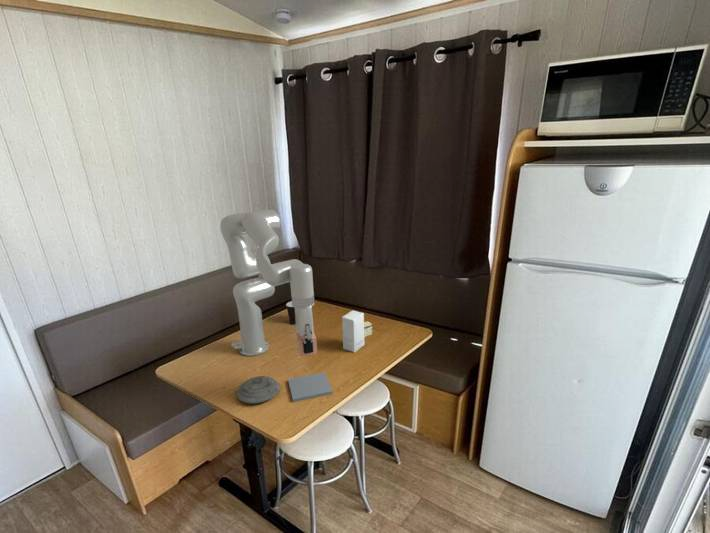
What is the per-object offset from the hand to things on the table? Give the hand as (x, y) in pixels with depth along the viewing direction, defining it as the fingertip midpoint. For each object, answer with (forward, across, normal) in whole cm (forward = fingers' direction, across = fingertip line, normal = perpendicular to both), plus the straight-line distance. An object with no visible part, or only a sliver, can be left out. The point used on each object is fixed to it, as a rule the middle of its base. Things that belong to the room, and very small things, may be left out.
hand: (306, 347), depth 132 cm
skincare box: (+16, -23, +24) cm, 37 cm away
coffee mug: (+16, -60, +5) cm, 62 cm away
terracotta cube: (+1, 0, 0) cm, 1 cm away
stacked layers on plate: (+17, -34, +32) cm, 49 cm away
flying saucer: (+17, -3, -18) cm, 25 cm away
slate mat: (+16, 0, 0) cm, 16 cm away
